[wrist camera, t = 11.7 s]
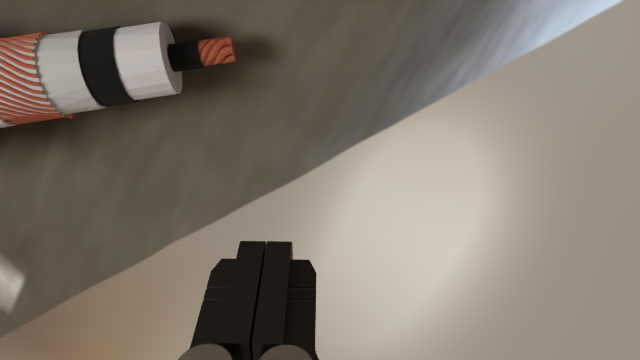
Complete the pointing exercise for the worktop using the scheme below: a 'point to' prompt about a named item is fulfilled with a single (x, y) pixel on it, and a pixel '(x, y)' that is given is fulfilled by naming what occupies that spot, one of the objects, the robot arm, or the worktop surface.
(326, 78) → the worktop surface
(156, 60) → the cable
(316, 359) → the robot arm
